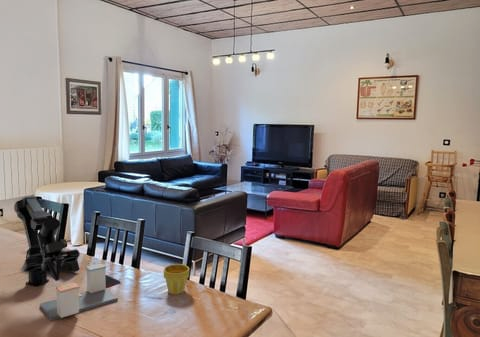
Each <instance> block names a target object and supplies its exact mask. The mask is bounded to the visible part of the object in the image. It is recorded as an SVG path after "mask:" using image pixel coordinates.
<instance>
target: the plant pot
mask: <svg viewBox="0 0 480 337" xmlns="http://www.w3.org/2000/svg"><path fill="white" fill-rule="evenodd" d="M189 277H190V266H187V265H186V264H181V263H174V264H169V265H167V266H165V267H164V268H163V278H164V279H165V282H166V287H167V292H168V294H171V295H180V293H181V294H183V293H184V292H185V290H186V285H187V280H188V279H189Z"/></svg>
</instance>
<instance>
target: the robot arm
mask: <svg viewBox="0 0 480 337" xmlns="http://www.w3.org/2000/svg"><path fill="white" fill-rule="evenodd" d="M13 208H14V212H15V213H16V215H17V216H16V217H17V218H19V219H20V220H21V221H22V223H23V228H24V230H25V231H24V232H25V235H26V240H27V245H28V249H29V252H28V255H27V258H26V257H25V260H24V262H23V265H22V267H23V272H24V273H25V272H27V274H28V275H27V276H28V281H26V282H25V285H28V286H29V285H30V286H34V287H40V286H41V285H43V284H45V283H47V282H50V279H49V278H48V276H47V274H48V275H50V276H51V277H52V279H53V280H55V281H56V282H58V281H59V280H60V272H61V271H60V267H61V266H62V265H63V263H64V261H66V262H67V263H70V262H75V261H77V260H78V259H79V257H80V255H81V253H80V250H78V249H77V248H75V249H70V250H66V251H67V253H66V254H65V255H60V254H61V251H64V249H66V248H68V242H67V239H66V238H63V239H60V240H59V241H58V240H56V235H57V234H58V231H59V229H60V227H61V222H60V221H59V219H58V218H56V217H53V215H52V214H50V213H49V212H47V211H45V210H44V209H43V207H42V206H41V205H40V203H39V202H38V198H37V196H25V197H23V198H22V199H20V200H17V201H16V202H14V206H13ZM53 262H54V263H55V265H54V266H53Z"/></svg>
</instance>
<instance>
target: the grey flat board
mask: <svg viewBox="0 0 480 337" xmlns="http://www.w3.org/2000/svg"><path fill="white" fill-rule="evenodd" d="M118 300H119V299H118V296H116V295H115V294H113V293H112V291H110V290H109V289H107V288H106V289H105V290H101V291H97V292H94V293H90V292H89V291H87V290H86V291H82V292H79V313H82V312H84V311H88V310H91V309H93V308H94V309H95V308H97V307H101V306H104V305H108V304H112V303H115V302H118ZM39 307H40V309H41V310H42V311H43V312H44V314H45V315H46V316H47V317H48V318H49V320H50V321H54V320H57V319H62V318H61V317H60V316H59V315H58V314H57V298H56V299H53V300H49V301H46V302H41V303H39Z"/></svg>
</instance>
